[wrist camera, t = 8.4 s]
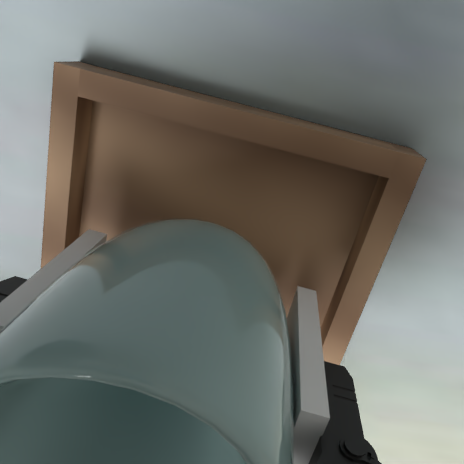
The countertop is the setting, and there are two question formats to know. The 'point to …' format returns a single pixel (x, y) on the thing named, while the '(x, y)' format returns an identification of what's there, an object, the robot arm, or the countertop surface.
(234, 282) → the cup
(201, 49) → the countertop surface
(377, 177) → the tray
